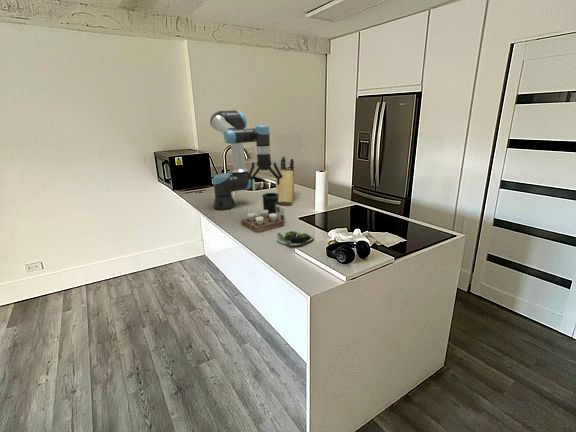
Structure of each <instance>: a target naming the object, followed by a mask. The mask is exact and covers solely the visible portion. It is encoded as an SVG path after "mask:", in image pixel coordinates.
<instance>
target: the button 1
mask: <svg viewBox="0 0 576 432" xmlns="http://www.w3.org/2000/svg"><path fill="white" fill-rule="evenodd" d="M255 216H256V213H255V212H249V213H247V218H249V222H253V221H254V217H255Z"/></svg>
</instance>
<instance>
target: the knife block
mask: <svg viewBox="0 0 576 432" xmlns="http://www.w3.org/2000/svg"><path fill="white" fill-rule="evenodd" d="M294 165H295V163H294V158H291V159H290V161H289V166H288V167H287V166H286V157H285V156H282V157H281V160H280V169H279V171H280V172H281V174H282V176H283V177H282V178H280V179H279V180H280V184H279V185H278V191H276V193H277V194H279V196H278V203H279V205H289V206H291V205H292V204H293V202H294V198H295V175H296V174H295V169H294V168H295V167H294ZM277 175H278V174H277ZM278 176H279V175H278Z"/></svg>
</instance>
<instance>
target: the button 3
mask: <svg viewBox="0 0 576 432" xmlns="http://www.w3.org/2000/svg"><path fill="white" fill-rule="evenodd" d="M260 214H261V215H262V217H263V219H265V218H267V214H268V210H263V209H261V210H260Z"/></svg>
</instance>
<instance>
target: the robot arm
mask: <svg viewBox="0 0 576 432" xmlns="http://www.w3.org/2000/svg"><path fill="white" fill-rule="evenodd" d="M209 123H210V124H209V125H210V126H211V128H212V129H214V130H215V131H218V132H219V133H221V134H222V136H223V139H224V142H225V144H228V145H229V144H230V150H231V158H232V167H233V170H232V171H231V174H230V173H229V172H224V173H219V174H216V175H214V176H213V179H212V184H213V191H214V192H213V193H214V198H213V200H214V201H213V207H212V208H213V210H216V211H229V210H231V209H234V208H236V202H235V200H234V198H233V195H232V194H233V193H232V192H238V191H245V190H249V189H251V187H252V190H253V192H255V191H256V181H255V177H256V176H257V174H258V173H259V171H269V172H270V173H271V174H272V175H273V176H274V178H275V191H276V192H277V191H278V185H279V184H280V180H279V179H280V178H282V177H283V176H282V174H281V172H280V169H279V167H278V164H277V161H273V162H272V160H271V141H270V137H271V136H270V126H269V125H268V124H261V125H260V124H259V125H256V126H255V127H252V128H247V124H248V123H247V118H246V115H245V113H244V112H243V111H242V110H218V111H216V112H215V113H213V114H212V115H211V117H210V119H209ZM245 143H246V144H247V143H255V144H256V159H257V160H256V162H255V161H252V162H251V168H250V170H249V169H247V167H246V165H247V164H246V156H245V148H244V144H245ZM256 166H257V167H258V168H257V169H256V170H255V171H254V169H255V167H256ZM271 166H273V167H274V169H275V170H274V169H273V168H272V167H271ZM275 171H276V172H275ZM253 172H254V173H253ZM278 175H279V176H278Z"/></svg>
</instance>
